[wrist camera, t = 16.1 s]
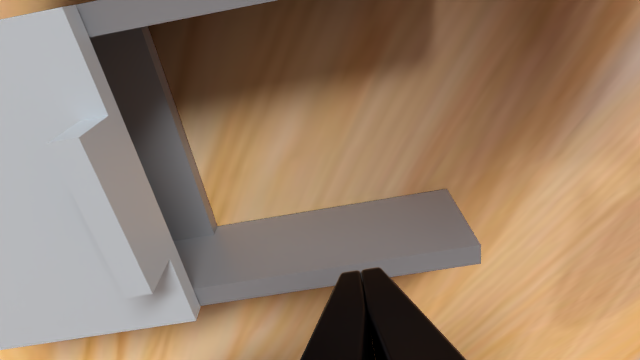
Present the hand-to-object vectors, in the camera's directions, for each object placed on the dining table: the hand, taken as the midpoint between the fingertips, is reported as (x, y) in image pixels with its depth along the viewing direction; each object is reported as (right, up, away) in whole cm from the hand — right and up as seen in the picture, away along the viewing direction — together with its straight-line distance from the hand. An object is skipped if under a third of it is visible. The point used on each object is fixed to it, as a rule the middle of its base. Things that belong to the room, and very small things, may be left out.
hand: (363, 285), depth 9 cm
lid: (-13, +1, +7) cm, 15 cm away
